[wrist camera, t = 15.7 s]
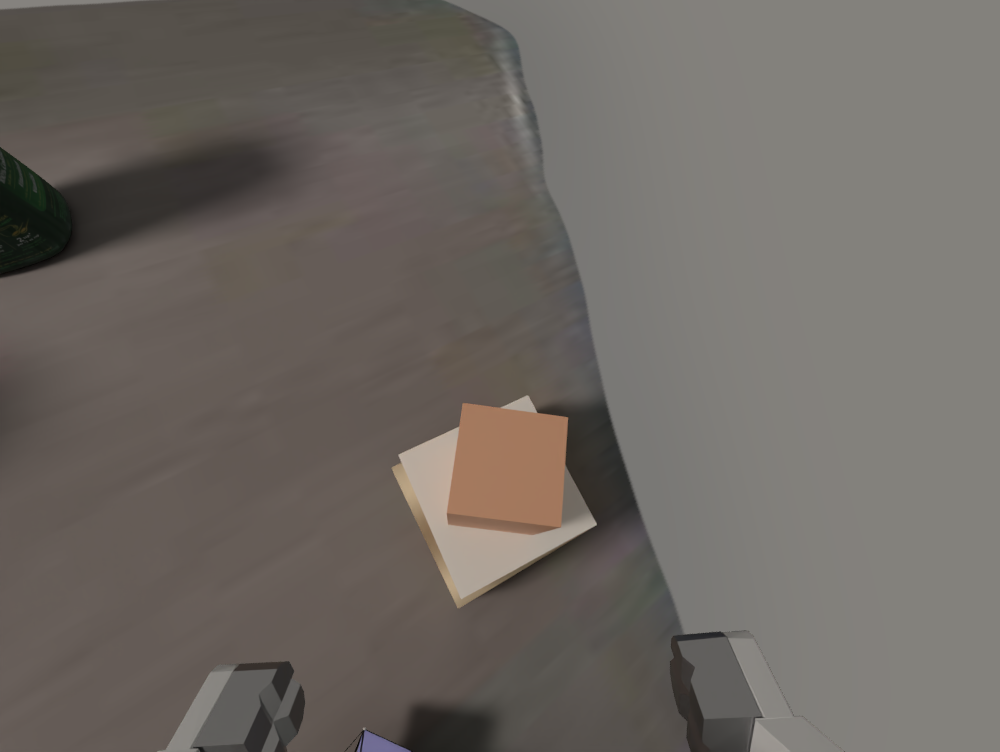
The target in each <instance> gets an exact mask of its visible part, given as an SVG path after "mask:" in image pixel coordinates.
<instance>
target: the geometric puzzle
mask: <svg viewBox="0 0 1000 752" xmlns="http://www.w3.org/2000/svg"><path fill="white" fill-rule="evenodd" d="M361 733H362V735H361V737H360V740H359V742H358V745H357V747H356V750H355V752H356V751H357V748H358V751H357V752H413V751H411V750H409V749H407V748H405V747H402V746H400V745H398V744H396V743H394V742H392V741H389V740H387V739H385V738H383V737H381V736H379V735H377V734H374V733H372V732H370V731H368V730H366V728H363V732H361ZM361 733H360V734H361ZM360 734H359V735H360ZM359 735H358V736H359ZM355 740H356V739H355ZM355 740H354V741H355ZM354 741H353V742H354ZM353 742H352V743H353ZM359 743H360V744H359ZM358 746H359V747H358ZM349 747H350V746H349ZM349 747H348V748H349ZM348 748H347V749H348ZM347 749H346V750H347Z"/></svg>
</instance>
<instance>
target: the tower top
mask: <svg viewBox="0 0 1000 752" xmlns="http://www.w3.org/2000/svg"><path fill="white" fill-rule="evenodd" d="M501 408H504V409H511V410H518V411H526V412H533V413H537V411H536V409H535V407H534V406H533V404H532V402H531V400H530V398H529V396H528V395H527V396H525V397H523V398H521V399H519V400H516V401H514V402H512V403H510V404H508V405H506V406H503V407H501ZM458 433H459V427H458V428H456V429H453V430H451V431H449V432H447V433H445V434H442V435H440V436H438V437H436V438H434V439H432V440H429V441H427V442H425V443H423V444H421V445H419V446H416V447H414V448H412V449H410V450H408V451H406V452H403V453H401V454H399V458H400V460H401V462H402V465H403V467H404V469H405V472H406V474H407V476H408V479H409V481H410V483H411V485H412V488H413V490H414V492H415V495H416V497H417V499H418V502H419V504H420V506H421V508H422V511H423V513H424V515H425V518H426V520H427V522H428V525H429V527H430V529H431V531H432V534H433V536H434V538H435V541H436V543H437V545H438V548H439V550H440V552H441V554H442V557H443V559H444V561H445V564H446V566H447V568H448V571H449V573H450V575H451V577H452V580H453V582H454V584H455V587H456V589H457V591H458V594H459V596H460V598H461V599H463V598H464V597H466V596H468V595H470V594H472V593H474V592H475V591H477V590H479V589H481V588H483V587H484V586H486V585H488V584H490V583H492V582H494V581H495V580H497V579H499V578H501V577H503V576H504V575H506V574H508V573H510V572H512V571H514V570H515V569H517V568H519V567H521V566H523V565H524V564H526V563H528V562H530V561H532V560H534V559H535V558H537V557H539V556H541V555H543V554H545V553H546V552H548V551H550V550H552V549H554V548H555V547H557V546H559V545H561V544H563V543H565V542H566V541H568V540H570V539H572V538H574V537H575V536H577V535H579V534H581V533H583V532H585V531H586V530H588V529H590V528H592V527H594V526H595V525H597V523H596V522H595V520H594V518H593V516H592V514H591V512H590V510H589V508H588V507H587V505H586V503H585V501H584V499H583V497H582V495H581V493H580V492H579V490H578V488H577V486H576V484H575V482H574V480H573V479H572V477H571V475H570V473H569V471H568V469H567V467H566V465H565V474H564V490H563V505H562V521H561V528H557V529H553V530H550V531H546V532H542V533H539V534H535V535H527V534H519V533H511V532H503V531H495V530H487V529H479V528H471V527H463V526H455V525H448V520H447V507H448V500H449V494H450V487H451V480H452V473H453V467H454V460H455V453H456V446H457V440H458Z"/></svg>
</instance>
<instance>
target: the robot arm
mask: <svg viewBox="0 0 1000 752" xmlns="http://www.w3.org/2000/svg"><path fill="white" fill-rule="evenodd" d="M671 649H672V652H673V655H674V658H673V659H672V660H671V661H670V675H671V683H672V689H673V693H674V697H675V701H676V705H677V708H678V711H679V714H680V715H681V716H682V717H683V718H684V719H685V720H686V721H687V737H686V738H687V741H688V744H689V748H690V751H691V752H845V751H843V750H842V749H841V748H840V747H839V746H837V745H836V744H835V743H834V742H832V740H830V739H829V738H828V737H827V736H826V735H824V734H823V733H822V732H821V731H820V730H819V729H817V728H816V727H815V726H814V725H813V724H811V723H810V722H809V721H808V720H807V719H806V718H804V717H803V716H794V715H793V712H792V711H791V709H790V707H789V705H788V703H787V701H786V699H785V697H784V695H783V693H782V691H781V689H780V687H779V685H778V683H777V681H776V679H775V677H774V675H773V673H772V671H771V669H770V667H769V665H768V664H767V662H766V660H765V658H764V656H763V654H762V652H761V650H760V648H759V646H758V644H757V642H756V640H755V638H754V636H753V635H752V634H751V633H750V632H749V631H746V630H744V631H732V632H709V633H698V634H685V635H673V637H672V638H671ZM293 673H294V669H293V668H292V666H291V664H290V662H289V661H285V662H266V663H246V664H243V663H240V664H225V665H218V666H217V667H216V668H215V669H213V670H212V671H211V672H210V674H209V675H208V677H207V679H206V681H205V682H204V684H203V686H202V688H201V689H200V691H199V693H198V694H197V696H196V698H195V700H194V701H193V703H192V705H191V707H190V708H189V710H188V712H187V714H186V715H185V717H184V719H183V721H182V722H181V724H180V726H179V727H178V729H177V731H176V733H175V734H174V736H173V738H172V740H171V741H170V743H169V745H168V747H167V748H166V750H159V751H157V752H287V748H286V746H287V745H288V744H289V743H290V742H291V740H292V739H293V738H294V737H295V736H296V735H297V734H298V731H299V728H300V725H301V722H302V720H303V714H304V707H305V697H304V691H303V689H302V686H301V684H299V683H298V682H296V681H295V680H293V679H292V676H293Z"/></svg>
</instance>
